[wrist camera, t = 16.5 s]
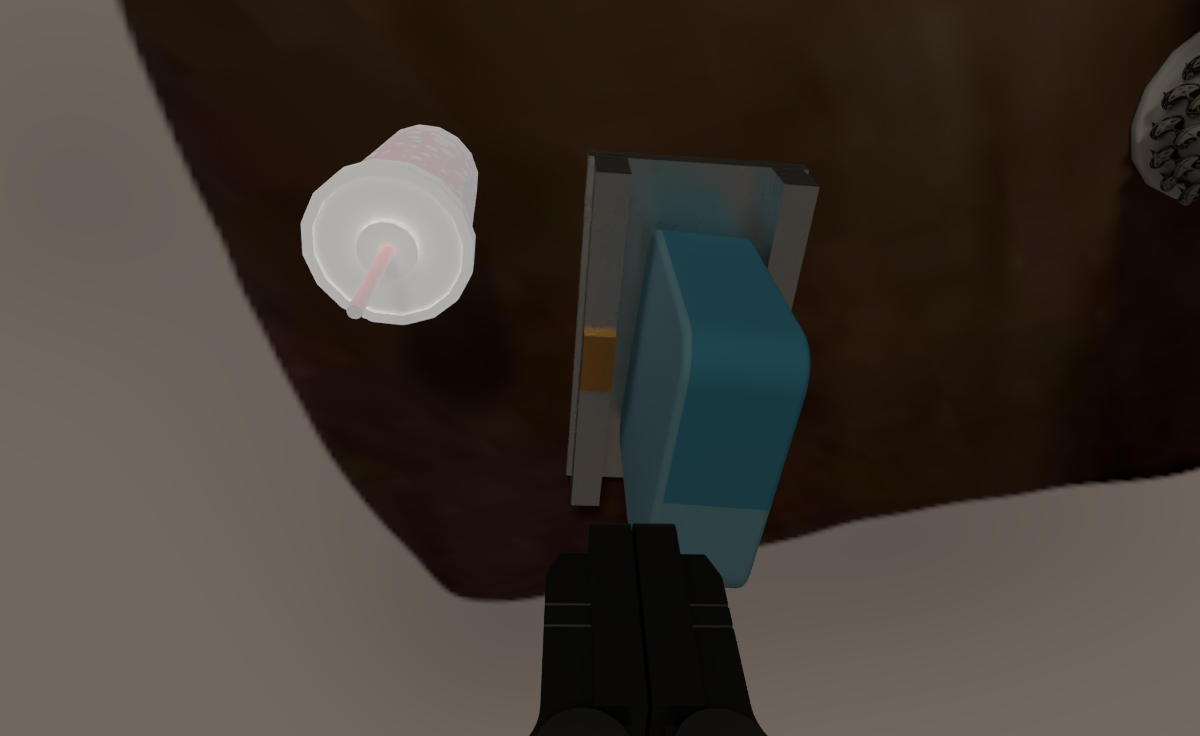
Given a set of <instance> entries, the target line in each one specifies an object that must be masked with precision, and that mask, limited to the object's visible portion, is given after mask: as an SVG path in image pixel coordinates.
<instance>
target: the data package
mask: <svg viewBox="0 0 1200 736" xmlns="http://www.w3.org/2000/svg"><path fill="white" fill-rule="evenodd" d="M809 375H810V352H809V346H808V342H807V339H806V336H805V334H804V332H803V331H802V329H801V327H800V325H799V324H798V322H797V320H796V318H795V317H794V315H793V313H792V311H791V310H790V308H789V306H788V304H787V303H786V301H785V299H784V297H783V296H782V294H781V292H780V291H779V289H778V287H777V285H776V284H775V282H774V280H773V278H772V277H771V275H770V273H769V271H768V270H767V268H766V266H765V264H764V263H763V261H762V259H761V257H760V256H759V254H758V252H757V250H756V249H755V247H754V245H753V243H752V242H751V241H750V240H748V239H743V238H733V237H724V236H715V235H705V234H696V233H686V232H677V231H668V230H657V231H655V232H654V233H653V235H652V237H651V240H650V244H649V248H648V253H647V259H646V265H645V271H644V277H643V283H642V289H641V295H640V301H639V307H638V313H637V319H636V325H635V331H634V337H633V343H632V349H631V355H630V361H629V367H628V373H627V379H626V385H625V391H624V397H623V403H622V409H621V418H620V450H621V459H622V469H623V479H624V489H625V499H626V508H627V518H628V523H630V524H631V529H632V526H633V523H663V524H675V526H676V530H677V536H678V542H679V548H680V554H705V555H706V556H707V557H708V559H709V560H710V561H711V563H712V564H713V565H714V567H715V568H716V569H717V571H718V572H719V573H720V575H721V576H722V579H723V583H724V587H726V588H740V587H742V586H743V585H744V584H745V583H746V581H747V580H748V578H749V575H750V572H751V569H752V566H753V562H754V559H755V556H756V553H757V550H758V546H759V543H760V540H761V537H762V534H763V530H764V527H765V524H766V521H767V517H768V514H769V511H770V508H771V505H772V501H773V498H774V495H775V492H776V489H777V485H778V482H779V479H780V476H781V472H782V469H783V466H784V463H785V460H786V456H787V453H788V450H789V447H790V443H791V440H792V437H793V434H794V431H795V427H796V424H797V421H798V418H799V415H800V411H801V408H802V405H803V402H804V398H805V395H806V392H807V387H808V382H809Z"/></svg>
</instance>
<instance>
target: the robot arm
mask: <svg viewBox="0 0 1200 736" xmlns="http://www.w3.org/2000/svg"><path fill="white" fill-rule="evenodd" d="M732 624H733V623H732V619H731V614H730V610H729V608H728V601H727V597H726V592H725V588H724V583H723V579H722V576H721V575H720V573H719V572H718V571H717V569H716V568H715V567H714V565H713V564H712V563H711V561H710V560H709V559H708V557H707V556H706V555H705V554H680V548H679V542H678V536H677V530H676V526H675V524H663V523H633V526H632V529H631V524H630V523H589V537H588V553H559V554H558V556H557V557H556V559H555V561H554V563H553V564H552V566H551V568H550V569H549V571H548V573H547V575H546V588H545V611H544V635H543V659H542V681H541V682H542V683H541V705H540V713H539V717H538V721H537V724H536V726H535V727H534V729H533V731H532V733H531V734H530V736H767V735H766V734H765V732H763V730H762V729H761V727H760V726H759V724H758V722H757V721H756V719H755V716H754V714H753V711H752V708H751V704H750V699H749V695H748V691H747V686H746V681H745V677H744V673H743V668H742V664H741V659H740V655H739V650H738V646H737V641H736V637H735V632H734V629H733V627H732Z"/></svg>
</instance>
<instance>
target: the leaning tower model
mask: <svg viewBox="0 0 1200 736" xmlns="http://www.w3.org/2000/svg"><path fill="white" fill-rule="evenodd" d="M1131 159H1132V161H1133V163H1134V165H1135V166H1136V168H1137V170H1138V172H1139V173H1140V175H1141V177H1142V178H1143V180H1144V182H1145V184H1147V185H1149V186H1151V187H1153V188H1155V189H1157V190H1158V191H1160V192H1162V193H1164V194H1166V195H1168V196H1170V197H1172V198H1174V199H1178V202H1179V204H1181V205H1183V206H1188V205H1190V204H1192V203H1193V202H1195V201H1196V200H1197V199H1200V31H1199V32H1198V33H1196V34H1195V35H1194V36H1192V37H1191V38H1190V39H1189V40H1187V41H1186V42H1185V43H1183V44H1182V45H1181V46H1179V47H1178V48H1177V49H1175V50H1174V51H1173V52H1172V53H1171V54H1170V56H1169V57H1168V58H1167V59H1166V61H1165V62H1164V63H1163V65H1162V66H1161V67H1160V69H1159V70H1158V71H1157V73H1156V74H1155V75H1154V77H1153V78H1152V79H1151V80H1150V82H1149V83H1148V84H1147V86H1146V87H1145V89H1144V91H1143V94H1142V97H1141V99H1140V102H1139V105H1138V107H1137V110H1136V113H1135V115H1134V118H1133V121H1132V123H1131Z"/></svg>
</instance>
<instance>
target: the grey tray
mask: <svg viewBox="0 0 1200 736" xmlns="http://www.w3.org/2000/svg"><path fill="white" fill-rule="evenodd" d="M808 172H809V170H808V169H807V168H806V167H805V166H804V165H803V164H795V163H780V162H765V161H750V160H735V159H721V158H706V157H691V156H676V155H661V154H647V153H632V152H617V151H602V150H588V156H587V170H586V185H585V200H584V214H583V229H582V243H581V258H580V273H579V287H578V302H577V317H576V331H575V346H574V360H573V375H572V390H571V404H570V419H569V433H568V448H567V463H566V475H571V505H585V506H599V501H600V491H601V481H602V477H623V469H622V459H621V450H620V418H621V409H622V403H623V397H624V391H625V385H626V379H627V373H628V367H629V361H630V355H631V349H632V343H633V337H634V331H635V325H636V319H637V313H638V307H639V301H640V295H641V289H642V283H643V277H644V271H645V265H646V259H647V253H648V248H649V244H650V240H651V237H652V235H653V233H654V232H655V231H657V230H668V231H677V232H686V233H696V234H705V235H715V236H724V237H733V238H743V239H748V240H750V241H751V242H752V243H753V245H754V247H755V249H756V250H757V252H758V254H759V256H760V257H761V259H762V261H763V263H764V264H765V266H766V268H767V270H768V271H769V273H770V275H771V277H772V278H773V280H774V282H775V284H776V285H777V287H778V289H779V291H780V292H781V294H782V296H783V297H784V299H785V301H786V303H787V304H788V306H789V308H790V310H791V309H792V305H793V301H794V296H795V292H796V287H797V283H798V279H799V274H800V270H801V265H802V261H803V257H804V252H805V248H806V244H807V239H808V235H809V230H810V226H811V222H812V217H813V213H814V209H815V204H816V200H817V195H818V191H819V186H818V185H817V184H816V183H815V181H814V180H813V179H812V178H811V177H810V176H809V175H808Z"/></svg>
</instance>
